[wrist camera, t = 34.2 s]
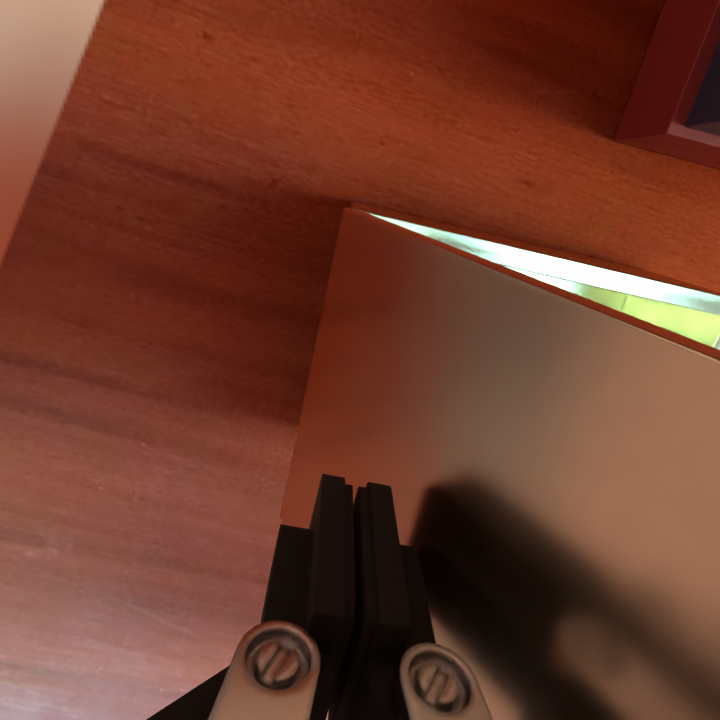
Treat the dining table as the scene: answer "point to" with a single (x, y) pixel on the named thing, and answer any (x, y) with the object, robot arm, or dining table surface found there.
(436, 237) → the box
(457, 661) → the robot arm
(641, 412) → the breadbin lid
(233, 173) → the dining table surface
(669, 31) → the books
